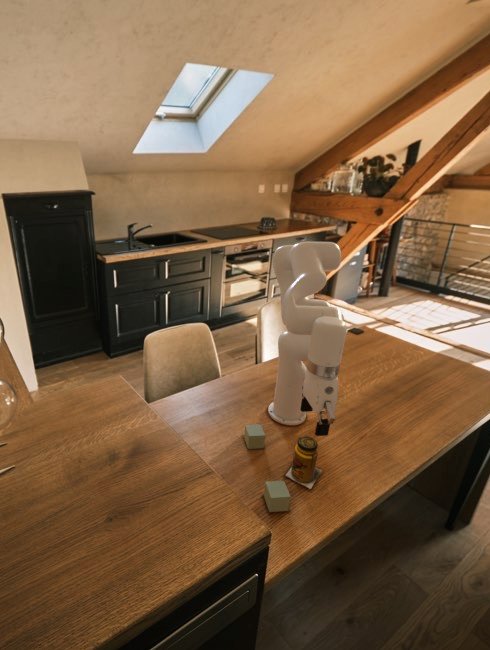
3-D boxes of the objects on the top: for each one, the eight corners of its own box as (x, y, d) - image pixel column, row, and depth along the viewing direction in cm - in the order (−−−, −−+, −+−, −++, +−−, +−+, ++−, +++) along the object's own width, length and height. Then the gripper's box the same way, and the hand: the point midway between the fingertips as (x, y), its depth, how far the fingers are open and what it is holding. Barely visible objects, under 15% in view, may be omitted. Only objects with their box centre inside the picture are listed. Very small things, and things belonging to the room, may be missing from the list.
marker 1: (259, 436, 122) (260, 424, 120) (263, 448, 117) (265, 435, 115) (243, 437, 121) (245, 425, 119) (247, 449, 117) (249, 436, 115)
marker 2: (281, 494, 101) (284, 480, 99) (288, 511, 97) (290, 496, 95) (263, 495, 101) (265, 481, 99) (269, 512, 96) (271, 497, 94)
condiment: (285, 476, 107) (290, 442, 102) (297, 458, 113) (303, 426, 108) (310, 489, 103) (316, 455, 98) (322, 471, 109) (328, 438, 104)
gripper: (355, 385, 86) (342, 445, 93) (322, 348, 102) (313, 402, 109) (323, 386, 86) (312, 446, 92) (295, 349, 102) (288, 403, 108)
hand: (313, 422), depth 100 cm, fingers open, 9 cm apart
